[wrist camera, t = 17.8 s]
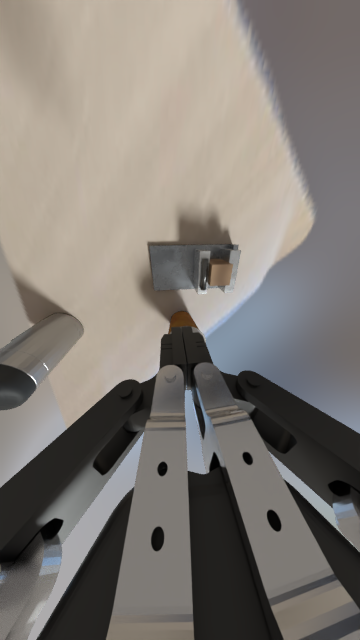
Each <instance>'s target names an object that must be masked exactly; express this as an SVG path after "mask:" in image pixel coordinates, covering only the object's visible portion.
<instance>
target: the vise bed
mask: <svg viewBox="0 0 360 640" xmlns="http://www.w3.org/2000/svg"><path fill="white" fill-rule="evenodd" d="M149 248H150V257H151V266H152V275H153V284H154V290H176V289H195V288H194V286H193V278H194V250H195V249H205V250H208V251H211V252H210V259H221V260H224V261H226V262H229V263H231V264H233V268H232V274H231V280H230V285H227V286H210V285H209V284H208V285H207V288H220V289H221V290H222V291H223V292H224V293H231V292H233V290H234V285H235V280H236V274H237V269H238V264H239V259H240V253H241V250H238V245H235V244H218V245H165V246H149Z"/></svg>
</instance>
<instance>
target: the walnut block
mask: <svg viewBox="0 0 360 640" xmlns="http://www.w3.org/2000/svg"><path fill="white" fill-rule="evenodd" d="M232 268H233V264H231V263H229V262H226V261H224V260H221V259H210V263H209V274H208V284H209V285H210V286H227V285H230V280H231V274H232Z"/></svg>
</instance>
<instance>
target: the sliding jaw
mask: <svg viewBox="0 0 360 640" xmlns="http://www.w3.org/2000/svg"><path fill="white" fill-rule="evenodd" d="M210 252H211V251H208V250H205V249H195V250H194V278H193V286H194V288H195V290H196V292H197V294H207V285H208V274H209V263H210Z"/></svg>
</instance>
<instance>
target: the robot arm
mask: <svg viewBox="0 0 360 640" xmlns="http://www.w3.org/2000/svg"><path fill="white" fill-rule="evenodd" d="M83 332H84V329H83V326H82V325H81V323H80V322H79V321H78V320H77V319H76V318H74V317H72V316H70V315H67V314H63V313H56V314H52V315H51V316H49V317H47V318H46V319H43V320H41V321H40V322H38V323H37V324H35V325H34V326H32V327H31V328H29V329H28V330H26V331H25V332H23V333H22V334H20V335H19V336H17V337H16V338H14V339H13V340H11V342H10V343H9V344H7V345H6V346H4V347H3V348H1V349H0V410H8V409H12V408H16V407H18V406H20V405H22V404H23V403H24V402H25V401H26V400H27V399H28V398H29V397H30V396H31V394H33V392H34V391H35V390H36V389H37V388H38V387H39V385H40V384H41V383H42V382H43V380H44V379H45V378H46V377H47V376H48V375H49V374H50V372H51V371H52V370H53V369H54V368H55V367H56V366H57V364H58V363H59V362H60V361H61V360H62V359H63V357H64V356H65V355H66V354H67V353H68V352H69V350H70V349H71V348H72V347H73V346H74V345H75V344H76V342H77V341H78V340H79V339H80V338H81V337H82V335H83ZM186 384H187V390H191V391H192V397H193V398H192V404H193V408H194V412H195V417H196V421H197V425H198V429H199V434H200V438H201V444H202V453H203V459H204V464H205V468H206V473H207V474H198V473H194V472H190V471H187V450H186V448H187V447H186V422H185V403H184V402H185V390H186ZM143 432H144V437H143V442H142V448H141V453H140V459H139V465H138V470H137V476H136V481H135V487H133V488H132V490H130V491H129V492H128V493H127V494H126V495H125V497H124V498H123V499H122V500H121V501H120V503H119V504H118V505H117V507H116V508H115V509H114V511H113V513H112V514H111V516H110V517H109V519H108V521H107V522H106V524H105V526H104V527H103V529H102V531H101V532H100V534H99V536H98V537H97V539H96V541H95V543H94V544H93V546H92V547H91V549H90V551H89V552H88V554H87V556H86V557H85V559H84V561H83V563H82V564H81V566H80V568H79V569H78V571H77V573H76V574H75V576H74V577H73V579H72V581H71V583H70V584H69V586H68V588H67V589H66V591H65V593H64V594H63V596H62V598H61V599H60V601H59V603H58V604H57V606H56V608H55V609H54V611H53V613H52V614H51V616H50V618H49V620H48V621H47V623H46V624H45V626H44V628H43V630H42V631H41V633H40V634H39V636H38V638H37V639H36V640H360V552H359V551H360V434H359V433H357V432H356V431H354V430H352V429H351V428H349V427H347V426H346V425H344V424H342V423H341V422H339V421H337V420H335V419H334V418H332V417H330V416H329V415H327V414H325V413H324V412H322V411H320V410H319V409H317V408H315V407H313V406H312V405H310V404H308V403H307V402H305V401H303V400H302V399H300V398H298V397H297V396H295V395H293V394H291V393H290V392H288V391H286V390H284V389H283V388H281V387H280V386H278V385H276V384H275V383H272V382H271V381H270V380H268V379H266V378H264V377H263V376H261V375H259V374H257V373H256V372H253V371H242V372H240V373H239V375H238V376H236V375H231V374H226V373H223V372H221V371H220V370H219V369H218V368H217V367H216V366H215V365H214V364H213V362H212V359H211V357H210V354H209V351H208V349H207V347H206V343H205V340H204V338H203V336H202V335H201V334H200V333H199V332H194V333H193V330H192V327H191V326H182V327H171V334H164V336H163V337H162V339H161V353H160V369H159V371H158V373H157V374H156V375H155V376H154V377H153V378H152V379H150V380H148V381H145V382H142V383H139V382H138V381H136V380H132V379H129V380H125V381H122V382H121V383H119V384H118V385H116V386H115V387H114V388H113V389H112V390H111V391H110V392H108V393H107V394H106V395H105V396H104V397H103V398H102V399H101V400H99V401H98V402H97V403H96V404H95V405H94V406H93V407H91V408H90V409H89V410H88V411H87V412H86V413H85V414H84V415H82V416H81V417H80V418H79V419H78V420H77V421H76V422H74V423H73V424H72V425H71V426H70V427H69V428H68V429H67V430H65V431H64V432H63V433H62V434H61V435H60V436H59V437H57V438H56V439H55V440H54V441H53V442H52V443H51V444H50V445H48V447H46V448H45V449H44V450H43V451H42V452H40V453H39V454H38V455H37V456H36V457H35V458H34V459H33V460H31V461H30V462H29V463H28V464H27V465H26V466H25V467H23V468H22V469H21V470H20V471H19V472H18V473H17V474H16V475H14V476H13V477H12V478H11V479H10V480H9V481H8V482H6V483H5V484H4V485H3V486H2V487H1V488H0V640H27V639H28V636H29V634H30V631H31V629H32V627H33V625H34V623H35V621H36V619H37V617H38V616H39V614H40V612H41V610H42V609H43V607H44V605H45V603H46V602H47V600H48V598H49V595H50V593H51V591H52V589H53V587H54V584H55V582H56V579H57V576H58V573H59V569H60V565H61V558H62V544H63V542H64V541H65V539H66V538H67V537H68V535H69V534H70V533H71V531H72V530H73V528H74V527H75V526H76V524H77V523H78V522H79V520H80V519H81V517H82V516H83V515H84V513H85V512H86V511H87V509H88V508H89V506H90V505H91V503H92V502H93V501H94V500H95V498H96V497H97V495H98V494H99V493H100V491H101V490H102V489H103V487H104V486H105V484H106V483H107V482H108V480H109V479H110V478H111V476H112V475H113V473H114V472H115V471H116V469H117V468H118V466H119V465H120V463H121V462H122V461H123V460H124V458H125V457H126V455H127V454H128V453H129V451H130V450H131V449H132V447H133V446H134V445H135V443H136V442H137V440H138V439H139V438H140V436H141V435H142V434H143ZM268 451H269V452H270V453H271V454H273V455H274V456H275V457H276V458H277V459H278V460H279V461H280V462H282V463H283V464H284V465H285V466H286V467H287V468H288V469H289V470H291V471H292V472H293V473H294V474H295V475H296V476H297V477H298V478H300V479H301V480H302V481H303V482H304V483H305V484H306V485H307V486H309V487H310V488H311V489H312V490H313V491H314V492H315V493H316V494H317V495H318V496H320V497H321V498H322V499H323V500H324V501H325V502H326V503H327V504H329V505H330V506H331V507H332V508H333V509H334V513H335V515H336V517H335V519H336V523H337V526H338V528H339V529H340V531H341V532H342V534H343V535H344V536H345V537H346V538H347V539H348V540H349V541H351V542H352V543H353V544H354V546H355V547H356V548H357V549H358V550H359V551H358V550H357V549H356V548H355V547H354V546H353V545H352V544H351V543H350V542H349V541H348V540H347V539H346V538H345V537H344V536H343V535H342V534H341V533H340V532H339V531H338V530H336V528H334V527H333V526H332V525H331V524H330V523H329V522H328V521H327V520H326V519H325V518H324V517H323V516H322V515H321V514H320V513H319V512H318V511H317V510H316V509H315V508H314V507H313V506H312V505H311V504H310V503H309V502H308V501H307V500H306V499H305V498H304V497H303V496H302V495H301V494H300V493H299V492H298V491H297V490H296V489H295V488H294V487H293V486H291V485H290V484H289V483H288V482H287V481H286V480H284V479H283V478H282V476H281V474H280V472H279V470H278V469H277V467H276V465H275V463H274V461H273V459H272V457H271V455H270V454H269V452H268Z"/></svg>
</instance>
